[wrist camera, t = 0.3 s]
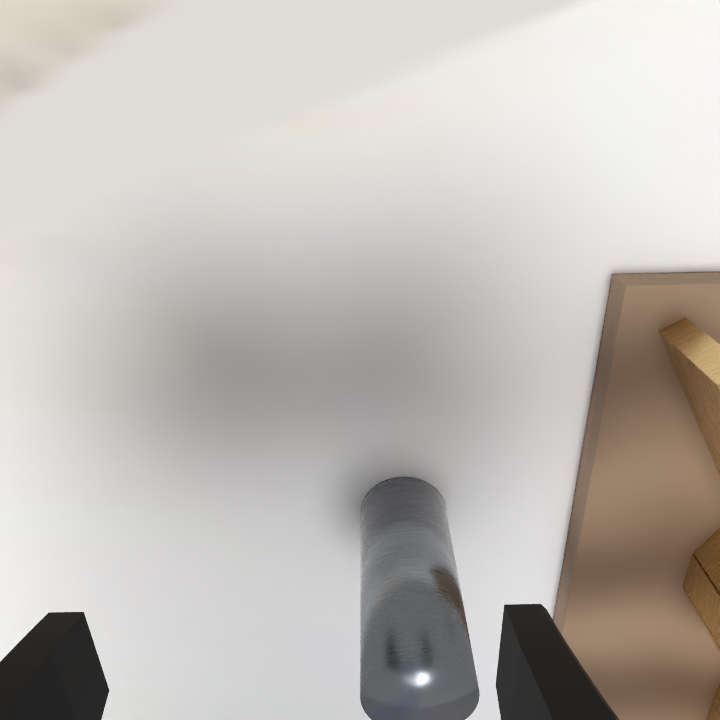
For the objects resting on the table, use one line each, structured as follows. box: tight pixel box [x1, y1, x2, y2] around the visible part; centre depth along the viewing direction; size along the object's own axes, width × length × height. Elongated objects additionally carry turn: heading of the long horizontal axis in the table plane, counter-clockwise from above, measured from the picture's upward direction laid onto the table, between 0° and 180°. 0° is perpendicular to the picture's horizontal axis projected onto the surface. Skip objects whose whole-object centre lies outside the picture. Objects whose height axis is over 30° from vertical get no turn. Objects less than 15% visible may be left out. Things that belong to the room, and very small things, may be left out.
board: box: [553, 272, 720, 720], centre depth 22 cm, size 23×10×1 cm, turn 1°
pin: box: [360, 477, 479, 720], centre depth 18 cm, size 3×3×7 cm
